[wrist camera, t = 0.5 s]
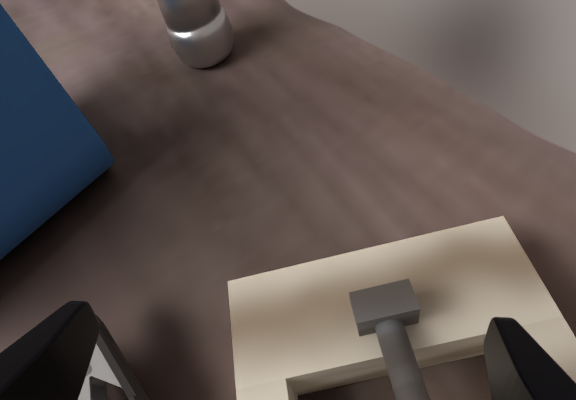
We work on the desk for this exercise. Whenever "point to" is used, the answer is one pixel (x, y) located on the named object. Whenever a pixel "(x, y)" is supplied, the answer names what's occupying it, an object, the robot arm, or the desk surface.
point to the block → (39, 141)
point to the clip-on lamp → (109, 371)
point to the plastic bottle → (198, 31)
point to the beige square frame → (388, 313)
